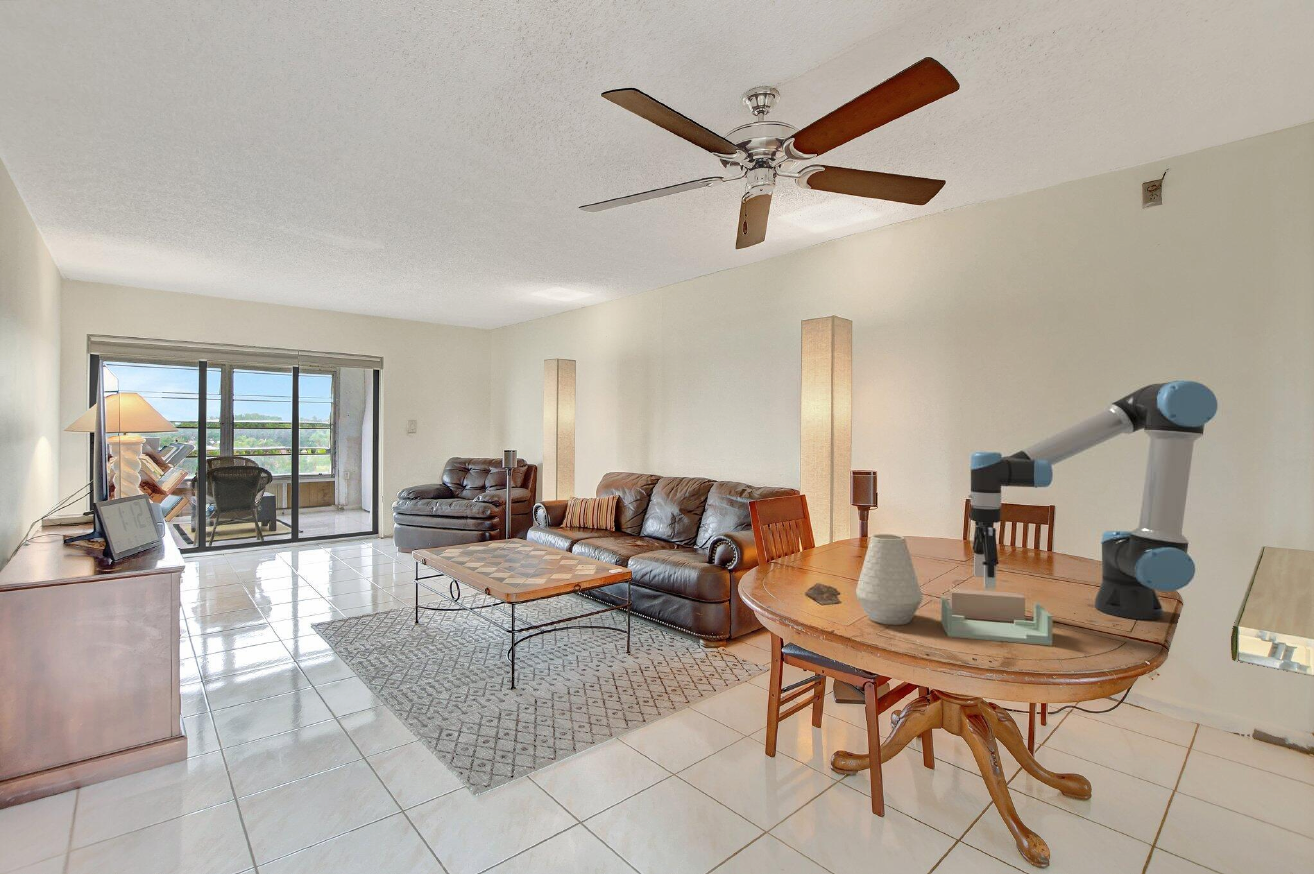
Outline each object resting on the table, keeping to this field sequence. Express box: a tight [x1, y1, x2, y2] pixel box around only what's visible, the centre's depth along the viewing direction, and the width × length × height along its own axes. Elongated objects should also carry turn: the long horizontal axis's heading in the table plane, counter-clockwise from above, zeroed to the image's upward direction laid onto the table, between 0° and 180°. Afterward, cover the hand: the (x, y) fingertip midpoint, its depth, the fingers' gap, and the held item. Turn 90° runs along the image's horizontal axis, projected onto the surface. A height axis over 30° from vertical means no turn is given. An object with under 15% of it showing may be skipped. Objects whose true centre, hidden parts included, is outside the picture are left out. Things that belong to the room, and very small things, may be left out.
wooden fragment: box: [804, 582, 842, 606], centre depth 190 cm, size 26×11×1 cm, turn 165°
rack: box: [940, 595, 1053, 646], centre depth 152 cm, size 23×12×7 cm, turn 72°
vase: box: [855, 533, 924, 626], centre depth 164 cm, size 17×17×23 cm
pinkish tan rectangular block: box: [948, 588, 1026, 623], centre depth 165 cm, size 18×4×7 cm, turn 71°
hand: (984, 582), depth 165 cm, fingers open, 13 cm apart
